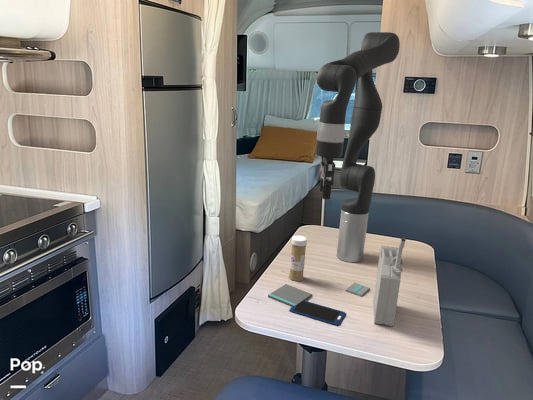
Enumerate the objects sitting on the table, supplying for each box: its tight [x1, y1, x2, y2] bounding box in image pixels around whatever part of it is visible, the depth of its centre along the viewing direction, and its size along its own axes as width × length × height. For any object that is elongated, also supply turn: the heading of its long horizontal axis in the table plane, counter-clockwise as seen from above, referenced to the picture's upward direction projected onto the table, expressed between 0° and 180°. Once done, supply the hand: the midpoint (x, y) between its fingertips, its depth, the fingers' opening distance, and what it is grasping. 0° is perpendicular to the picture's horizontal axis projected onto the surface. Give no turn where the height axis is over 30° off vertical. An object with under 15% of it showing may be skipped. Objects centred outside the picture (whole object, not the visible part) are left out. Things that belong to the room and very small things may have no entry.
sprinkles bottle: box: [288, 235, 308, 282], centre depth 133 cm, size 5×5×13 cm
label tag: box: [345, 282, 371, 297], centre depth 130 cm, size 6×5×1 cm
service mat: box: [267, 283, 313, 308], centre depth 124 cm, size 9×9×1 cm
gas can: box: [372, 237, 407, 327], centre depth 113 cm, size 15×5×25 cm, turn 168°
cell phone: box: [288, 300, 347, 327], centre depth 116 cm, size 7×14×1 cm, turn 64°
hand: (324, 195), depth 126 cm, fingers open, 8 cm apart
